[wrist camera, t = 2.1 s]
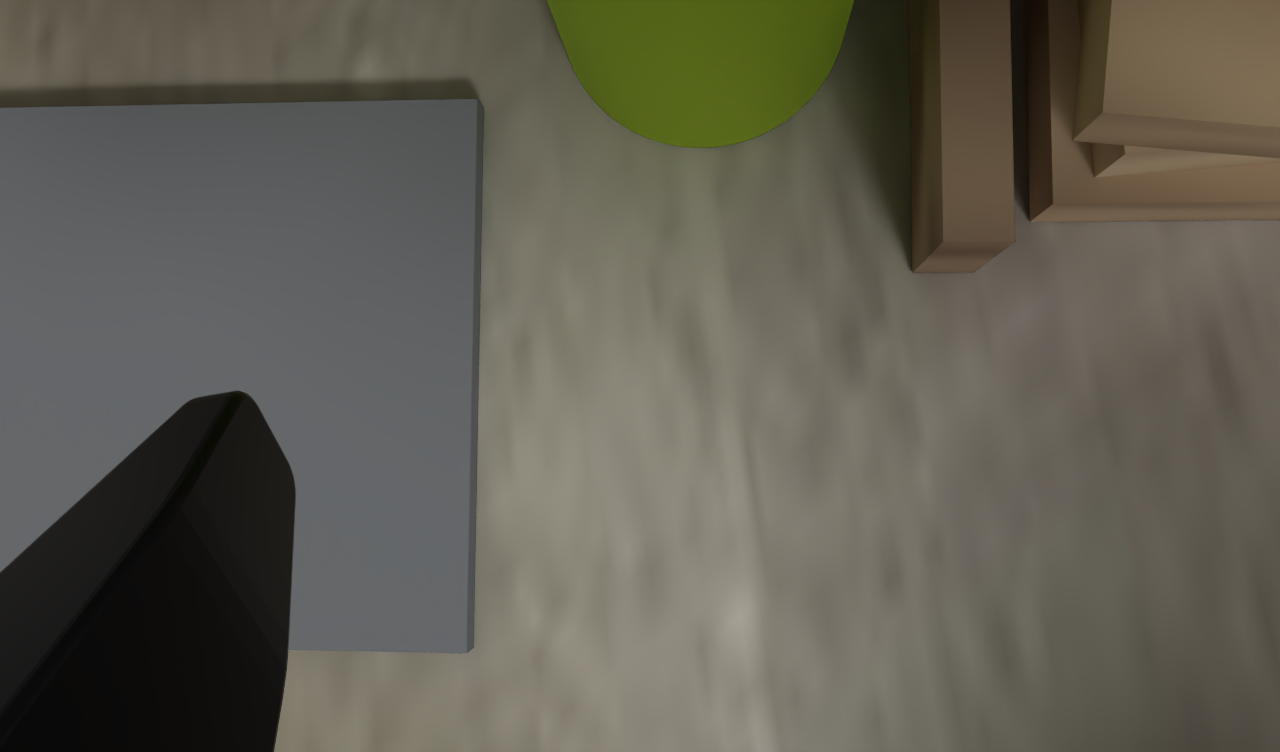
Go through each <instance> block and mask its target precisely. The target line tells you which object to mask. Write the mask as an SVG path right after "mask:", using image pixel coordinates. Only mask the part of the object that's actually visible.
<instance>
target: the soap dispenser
mask: <svg viewBox="0 0 1280 752" xmlns="http://www.w3.org/2000/svg"><path fill="white" fill-rule="evenodd" d="M547 2H548V5H549V7H550V10H551V13H552V15H553V18H554V21H555V23H556V26H557V28H558V31H559V34H560V36H561V39H562V42H563V44H564V47H565V50H566V52H567V55H568V58H569V60H570V63H571V65H572V67H573V69H574V71H575V73H576V75H577V77H578V79H579V81H580V82H581V84H582V85H583V87H584V88H585V90H586V91H587V93H588V94H589V95H590V96H591V98H592V99H593V100H594V101H595V102H596V103H597V104H598V105H599V106H600V108H602V109H603V110H604V111H605V112H606V113H607V114H608V115H609V116H611V117H612V118H613V119H614V120H616V121H617V122H619V123H620V124H621V125H623V126H625V127H626V128H628V129H630V130H632V131H633V132H635V133H637V134H639V135H642V136H644V137H646V138H649V139H652V140H655V141H658V142H661V143H665V144H670V145H675V146H681V147H692V148H709V147H719V146H726V145H731V144H735V143H739V142H743V141H746V140H749V139H752V138H754V137H757V136H759V135H762V134H764V133H766V132H768V131H770V130H772V129H773V128H775V127H777V126H779V125H780V124H782V123H783V122H785V121H786V120H788V119H789V118H790V117H792V116H793V115H794V114H795V113H796V112H798V111H799V110H800V109H801V108H802V107H803V106H804V105H805V104H806V103H807V102H808V101H809V100H810V99H811V98H812V97H813V96H814V94H815V93H816V92H817V91H818V89H819V88H820V87H821V85H822V84H823V82H824V81H825V79H826V78H827V76H828V74H829V73H830V71H831V69H832V67H833V65H834V63H835V61H836V58H837V56H838V54H839V51H840V48H841V45H842V41H843V38H844V35H845V31H846V28H847V24H848V21H849V17H850V14H851V10H852V7H853V3H854V0H547Z"/></svg>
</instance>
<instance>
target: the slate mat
mask: <svg viewBox="0 0 1280 752" xmlns="http://www.w3.org/2000/svg"><path fill="white" fill-rule="evenodd" d="M483 124H484V108H483V107H482V105H481V104H480V102H479V101H478V99H439V100H386V101H333V102H280V103H227V104H174V105H121V106H68V107H15V108H0V572H1V571H2V570H3V569H4V568H5V567H6V566H7V565H9V564H10V563H11V562H12V561H13V560H14V559H15V558H16V557H17V556H18V555H19V554H21V553H22V552H23V551H24V550H25V549H26V548H27V547H28V546H29V545H30V544H32V543H33V542H34V541H35V540H36V539H37V538H38V537H39V536H40V535H41V534H42V533H44V532H45V531H46V530H47V529H48V528H49V527H50V526H51V525H52V524H53V523H55V522H56V521H57V520H58V519H59V518H60V517H61V516H62V515H63V514H64V513H66V512H67V511H68V510H69V509H70V508H71V507H72V506H73V505H74V504H75V503H76V502H78V501H79V500H80V499H81V498H82V497H83V496H84V495H85V494H86V493H87V492H89V491H90V490H91V489H92V488H93V487H94V486H95V485H96V484H97V483H98V482H99V481H101V480H102V479H103V478H104V477H105V476H106V475H107V474H108V473H109V472H110V471H112V470H113V469H114V468H115V467H116V466H117V465H118V464H119V463H120V462H121V461H122V460H124V459H125V458H126V457H127V456H128V455H129V454H130V453H131V452H132V451H133V450H135V449H136V448H137V447H138V446H139V445H140V444H141V443H142V442H143V441H144V440H146V439H147V438H148V437H149V436H150V435H151V434H152V433H153V432H154V431H155V430H156V429H158V428H159V427H160V426H161V425H162V424H163V423H164V422H165V421H166V420H167V419H169V418H170V417H171V416H172V415H173V414H174V413H175V412H176V411H177V410H178V409H179V408H181V407H182V406H183V405H184V404H185V403H186V402H188V401H189V400H191V399H194V398H197V397H202V396H207V395H213V394H219V393H224V392H230V391H242V392H245V393H247V394H249V395H250V396H251V397H252V398H253V399H254V401H255V402H256V403H257V405H258V406H259V408H260V410H261V412H262V414H263V416H264V418H265V419H266V421H267V423H268V425H269V427H270V429H271V431H272V432H273V434H274V436H275V438H276V440H277V442H278V443H279V445H280V447H281V449H282V451H283V453H284V455H285V456H286V458H287V460H288V462H289V464H290V467H291V469H292V472H293V476H294V481H295V488H296V505H295V526H294V547H293V568H292V589H291V610H290V631H289V648H288V650H333V651H381V652H430V653H468V652H469V651H470V650H472V649H473V648H474V600H475V547H476V494H477V441H478V388H479V335H480V283H481V230H482V177H483Z"/></svg>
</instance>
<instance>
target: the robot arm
mask: <svg viewBox="0 0 1280 752" xmlns="http://www.w3.org/2000/svg"><path fill="white" fill-rule="evenodd" d="M295 505H296V488H295V481H294V476H293V472H292V469H291V467H290V464H289V462H288V460H287V458H286V456H285V455H284V453H283V451H282V449H281V447H280V445H279V443H278V442H277V440H276V438H275V436H274V434H273V432H272V431H271V429H270V427H269V425H268V423H267V421H266V419H265V418H264V416H263V414H262V412H261V410H260V408H259V406H258V405H257V403H256V402H255V401H254V399H253V398H252V397H251V396H250V395H249V394H247V393H245V392H242V391H230V392H224V393H219V394H213V395H207V396H202V397H197V398H194V399H191V400H189V401H188V402H186V403H185V404H184V405H183V406H182V407H181V408H179V409H178V410H177V411H176V412H175V413H174V414H173V415H172V416H171V417H170V418H169V419H167V420H166V421H165V422H164V423H163V424H162V425H161V426H160V427H159V428H158V429H156V430H155V431H154V432H153V433H152V434H151V435H150V436H149V437H148V438H147V439H146V440H144V441H143V442H142V443H141V444H140V445H139V446H138V447H137V448H136V449H135V450H133V451H132V452H131V453H130V454H129V455H128V456H127V457H126V458H125V459H124V460H122V461H121V462H120V463H119V464H118V465H117V466H116V467H115V468H114V469H113V470H112V471H110V472H109V473H108V474H107V475H106V476H105V477H104V478H103V479H102V480H101V481H99V482H98V483H97V484H96V485H95V486H94V487H93V488H92V489H91V490H90V491H89V492H87V493H86V494H85V495H84V496H83V497H82V498H81V499H80V500H79V501H78V502H76V503H75V504H74V505H73V506H72V507H71V508H70V509H69V510H68V511H67V512H66V513H64V514H63V515H62V516H61V517H60V518H59V519H58V520H57V521H56V522H55V523H53V524H52V525H51V526H50V527H49V528H48V529H47V530H46V531H45V532H44V533H42V534H41V535H40V536H39V537H38V538H37V539H36V540H35V541H34V542H33V543H32V544H30V545H29V546H28V547H27V548H26V549H25V550H24V551H23V552H22V553H21V554H19V555H18V556H17V557H16V558H15V559H14V560H13V561H12V562H11V563H10V564H9V565H7V566H6V567H5V568H4V569H3V570H2V571H1V572H0V752H274V748H275V742H276V736H277V730H278V724H279V718H280V712H281V706H282V700H283V693H284V686H285V679H286V672H287V661H288V648H289V631H290V610H291V589H292V568H293V547H294V526H295Z"/></svg>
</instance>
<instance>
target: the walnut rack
mask: <svg viewBox="0 0 1280 752" xmlns="http://www.w3.org/2000/svg"><path fill="white" fill-rule="evenodd" d="M909 53H910V128H911V202H912V273H956V272H975V271H977V270H978V269H979V268H981V267H982V266H983V265H985V264H986V263H987V262H988V261H990V260H991V259H992V258H994V257H995V256H996V255H998V254H999V253H1000V252H1002V251H1003V250H1004V249H1006V248H1007V247H1008V246H1010V245H1011V244H1012V243H1014V242H1015V215H1014V168H1013V121H1012V73H1011V26H1010V0H909Z"/></svg>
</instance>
